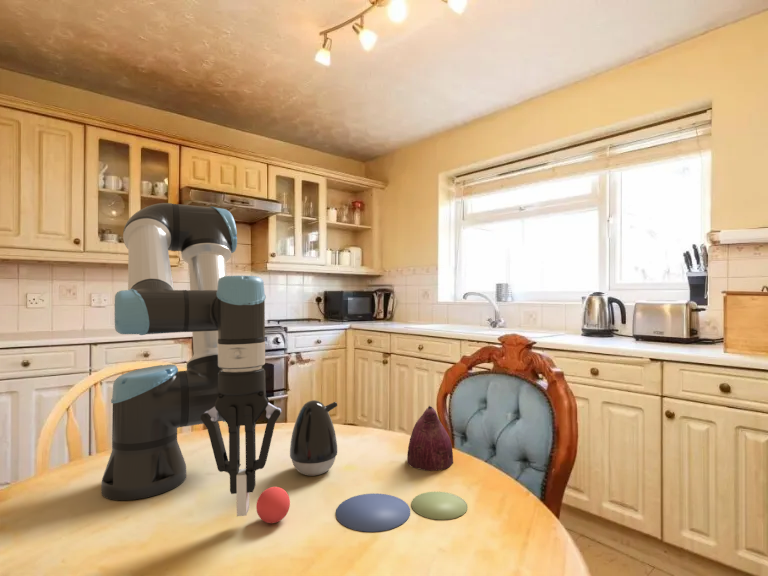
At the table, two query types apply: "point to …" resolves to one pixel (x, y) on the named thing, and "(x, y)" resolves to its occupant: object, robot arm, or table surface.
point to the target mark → (373, 512)
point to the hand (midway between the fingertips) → (243, 511)
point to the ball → (273, 504)
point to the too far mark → (439, 505)
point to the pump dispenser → (313, 439)
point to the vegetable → (429, 444)
